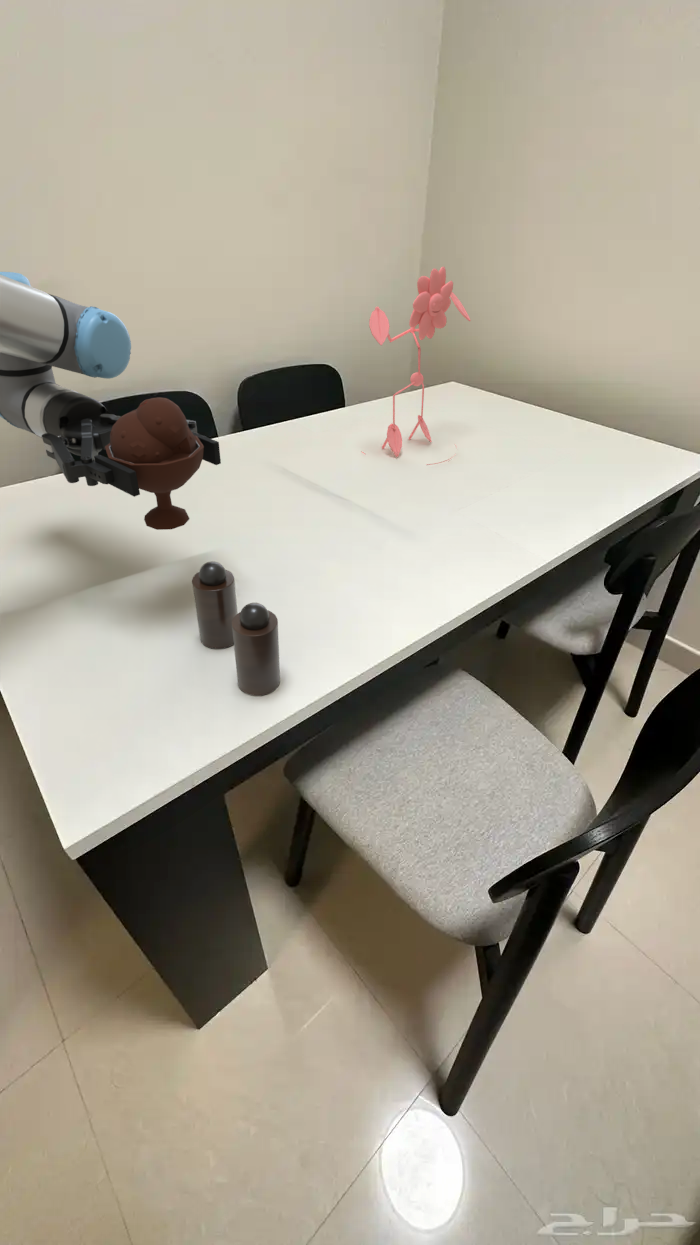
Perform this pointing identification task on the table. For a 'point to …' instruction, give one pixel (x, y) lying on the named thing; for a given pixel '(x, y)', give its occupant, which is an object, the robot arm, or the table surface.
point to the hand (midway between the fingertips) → (178, 468)
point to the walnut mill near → (256, 649)
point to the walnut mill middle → (215, 604)
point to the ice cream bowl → (157, 455)
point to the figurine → (428, 316)
